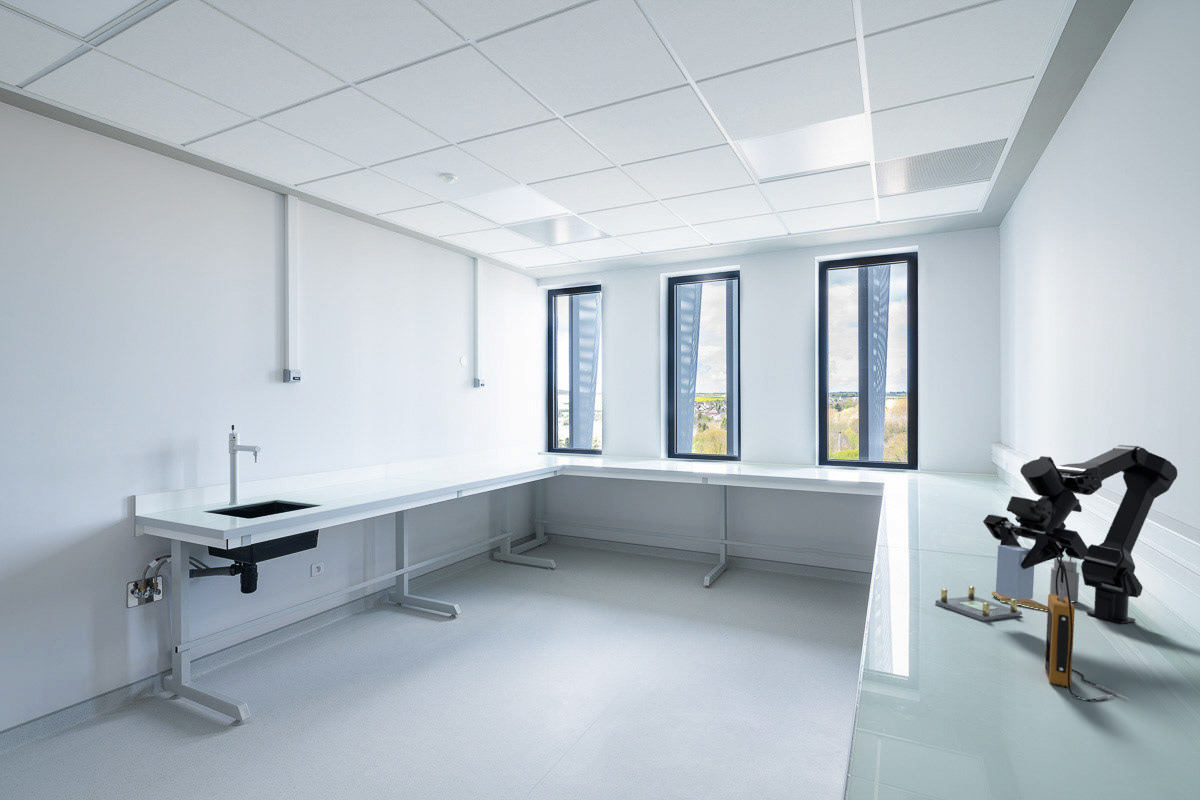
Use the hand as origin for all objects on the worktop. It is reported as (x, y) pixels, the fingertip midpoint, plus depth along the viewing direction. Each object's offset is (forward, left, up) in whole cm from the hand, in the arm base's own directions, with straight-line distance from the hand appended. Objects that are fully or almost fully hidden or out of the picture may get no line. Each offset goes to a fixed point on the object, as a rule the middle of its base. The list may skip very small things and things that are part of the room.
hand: (1010, 564), depth 122 cm
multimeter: (+16, +22, -13) cm, 31 cm away
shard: (-22, -10, -14) cm, 27 cm away
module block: (-1, 0, -7) cm, 7 cm away
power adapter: (-37, -9, -13) cm, 40 cm away
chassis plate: (-4, -9, -13) cm, 16 cm away
